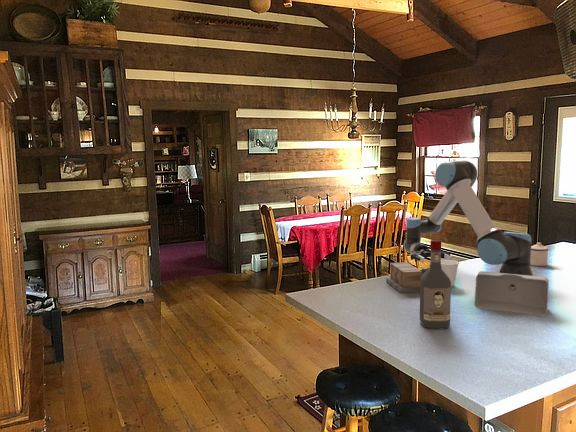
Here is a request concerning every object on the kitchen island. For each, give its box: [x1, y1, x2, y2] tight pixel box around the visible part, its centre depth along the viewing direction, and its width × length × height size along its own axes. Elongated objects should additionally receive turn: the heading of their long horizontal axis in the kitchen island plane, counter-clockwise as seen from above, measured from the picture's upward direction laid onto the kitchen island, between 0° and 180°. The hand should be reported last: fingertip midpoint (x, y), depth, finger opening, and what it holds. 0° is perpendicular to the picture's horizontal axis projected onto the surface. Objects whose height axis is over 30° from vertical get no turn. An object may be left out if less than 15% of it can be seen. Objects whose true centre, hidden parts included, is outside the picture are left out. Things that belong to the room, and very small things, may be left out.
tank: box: [473, 271, 550, 317], centre depth 183 cm, size 25×16×12 cm, turn 61°
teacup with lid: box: [530, 242, 549, 267], centre depth 249 cm, size 12×9×12 cm
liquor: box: [419, 239, 452, 330], centre depth 163 cm, size 9×9×30 cm
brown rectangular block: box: [385, 261, 423, 293], centre depth 213 cm, size 18×12×9 cm, turn 6°
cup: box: [441, 259, 460, 288], centre depth 212 cm, size 10×10×11 cm
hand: (437, 260), depth 222 cm, fingers open, 13 cm apart
